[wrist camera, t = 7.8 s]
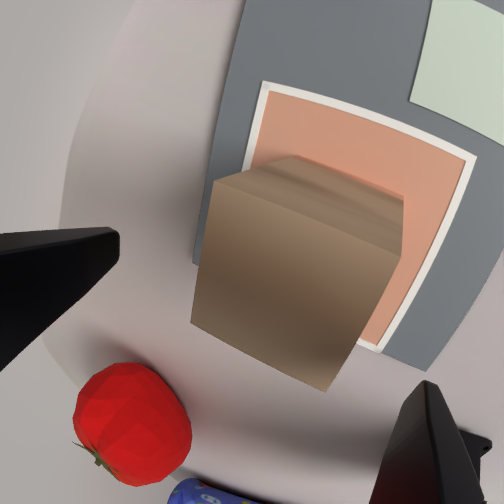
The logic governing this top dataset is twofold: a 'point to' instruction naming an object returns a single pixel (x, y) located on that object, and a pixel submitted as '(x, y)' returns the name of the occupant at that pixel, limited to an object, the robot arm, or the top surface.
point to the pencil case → (202, 494)
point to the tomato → (132, 424)
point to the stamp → (296, 264)
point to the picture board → (383, 136)
